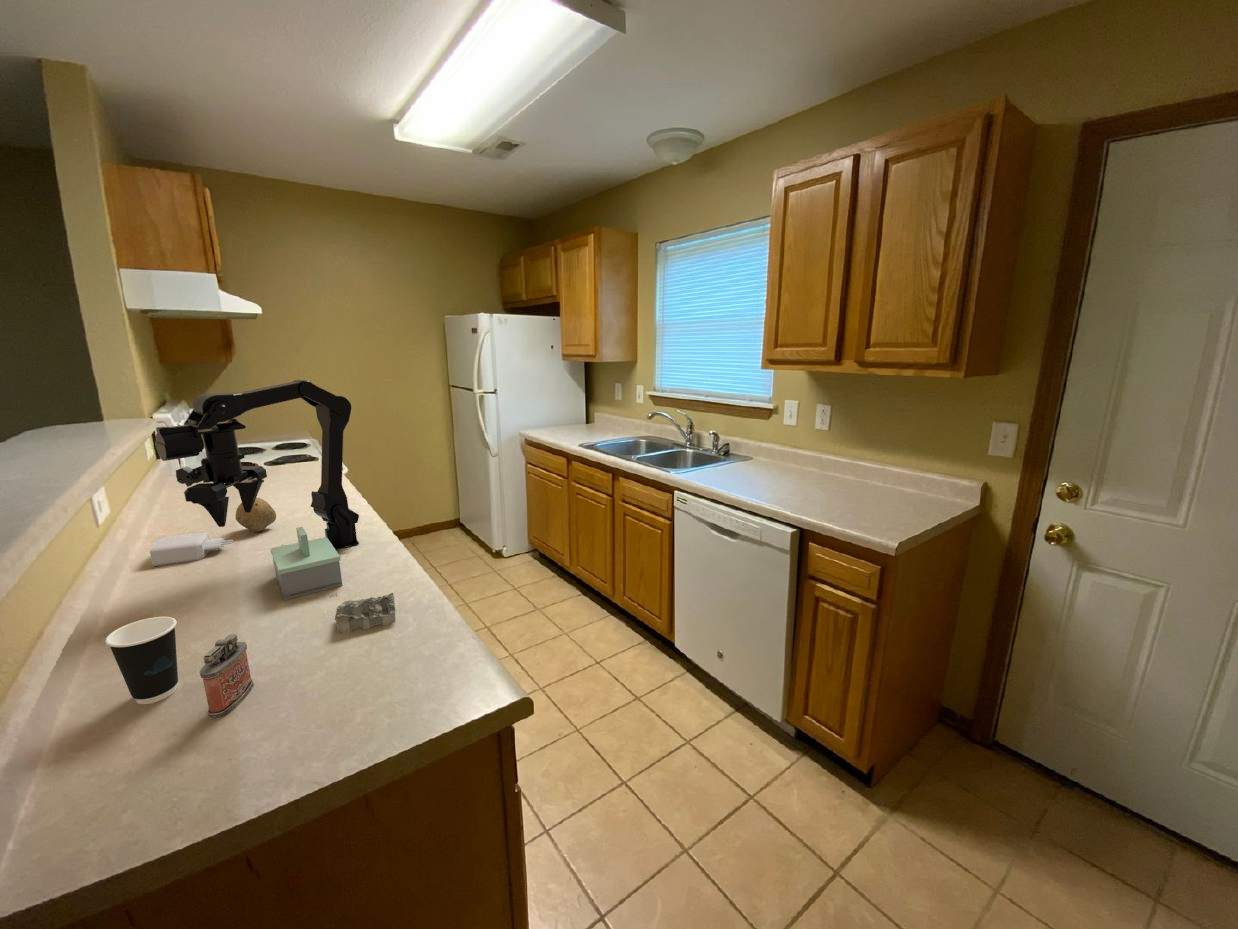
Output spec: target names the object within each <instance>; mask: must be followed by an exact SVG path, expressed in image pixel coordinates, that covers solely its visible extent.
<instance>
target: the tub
mask: <svg viewBox="0 0 1238 929" xmlns="http://www.w3.org/2000/svg"><path fill="white" fill-rule="evenodd" d="M272 561H273V565H274V566H273V567H274V574H275V578H276V581H277V584H278V586H279V588H280V591H281V595H282V597H283V599H284V601H287V600H290V599H294V598H297V597H298V598H299V597H302V596H306V595H310V594H314V593H318V592H322V591H325V590H326V591H327V590H331V589H333V588H338V587H341V586H343V579H342V570H341V565H340V564H341V562H340V561H336V562H332V563H328V564H323V565H319V566H315V567H310V568H306V569H302V570H297V571H293V572H289V573H284V574H280V575H279V572H278V570H277V567H276V564H275V562H274V559H273V558H272Z"/></svg>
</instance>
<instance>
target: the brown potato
mask: <svg viewBox="0 0 1238 929" xmlns="http://www.w3.org/2000/svg"><path fill="white" fill-rule="evenodd" d="M276 519H277V513H276V511H275V509H274V508H273V507H272V506H271V504H270V503H269V502H268V501H267V500H265V499H262V498H260V497H256V499H255V502H254V505H253V508H252V510H251V512H248V513H246V512H245V510H244V508H243V505H242V502H241V503H239V505H238V507H237V508H236V511H235V520H236V521H237V523H238V524H239V525H240V526H242V527H244V528H245V529H247V530H249V531H250V532H253V533H259V532H262V531H264V530H265V529H266V528H267V527H269V526H271V525H272V524H274V523H275V521H276Z"/></svg>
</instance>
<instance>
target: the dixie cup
mask: <svg viewBox="0 0 1238 929" xmlns="http://www.w3.org/2000/svg"><path fill="white" fill-rule="evenodd" d="M177 624H178V623H177V619H175V618H173V617H171V616H155V617H149V618H144V619H140V620H136V621H134V622H130V623H127V624H125V625H123V626H121V627H119V628H117V629H115V630H113V631H112V632H110V634H108V635H107V637H106V638H105V644H106V645H107V646H108V647H109V648H110V650H111V652H112V655H113V657H114V659H115V661H116V664H117V667H118V668H119V671H120V673H121V675H122V677H123V679H124V681H125V682H124V683H125V685H126V686H127V689H128V691H129V694H130V695H131V698H133V699H134V700H135V702H136V703H137V704H138V705H148V704H154V703H156V702H160V701H163V700H164V699H166V698H168V697H169V696H171V695H173V694H174V693H175V692H176V690H177V687H178V686H177V684H178V682H179V674H178V673H179V672H178V661H177V660H178V659H177V657H178V656H177V655H178V654H177V643H176V642H177V641H176V626H177Z"/></svg>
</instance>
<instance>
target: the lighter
mask: <svg viewBox="0 0 1238 929" xmlns="http://www.w3.org/2000/svg"><path fill="white" fill-rule="evenodd" d="M247 648H248V645H247V642H245V641H239V640H238V635H237V633H231V634H228V635H227V636H226V637H224V638H223V639H217V641H215V643H214V646H213V647H212V648H210V649H209V650H208V652H206V653H205V654H204V656H203V657H202V658H203V661H204V665H203V667H201V669H200V670H199V676H200V678H201V679H202V682H203V687H204V691H205V697H206V701H207V706H208V710H207V714H208V718H209V719H210V720H219V719H222V718H224V717H226V716H228V715H229V714H230V713H232V711H234V710H236V708H237V707H239V706H240V705H241V704H242V703H243V702H244V701H245V699H246V698H247V697H248V696H249V694H250V693H251V692H252V690H253V688H254V687H255V686H254V685H255V684H254V680H253V679H252V677H251V670H250V664H249V660H248V654H247Z"/></svg>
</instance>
